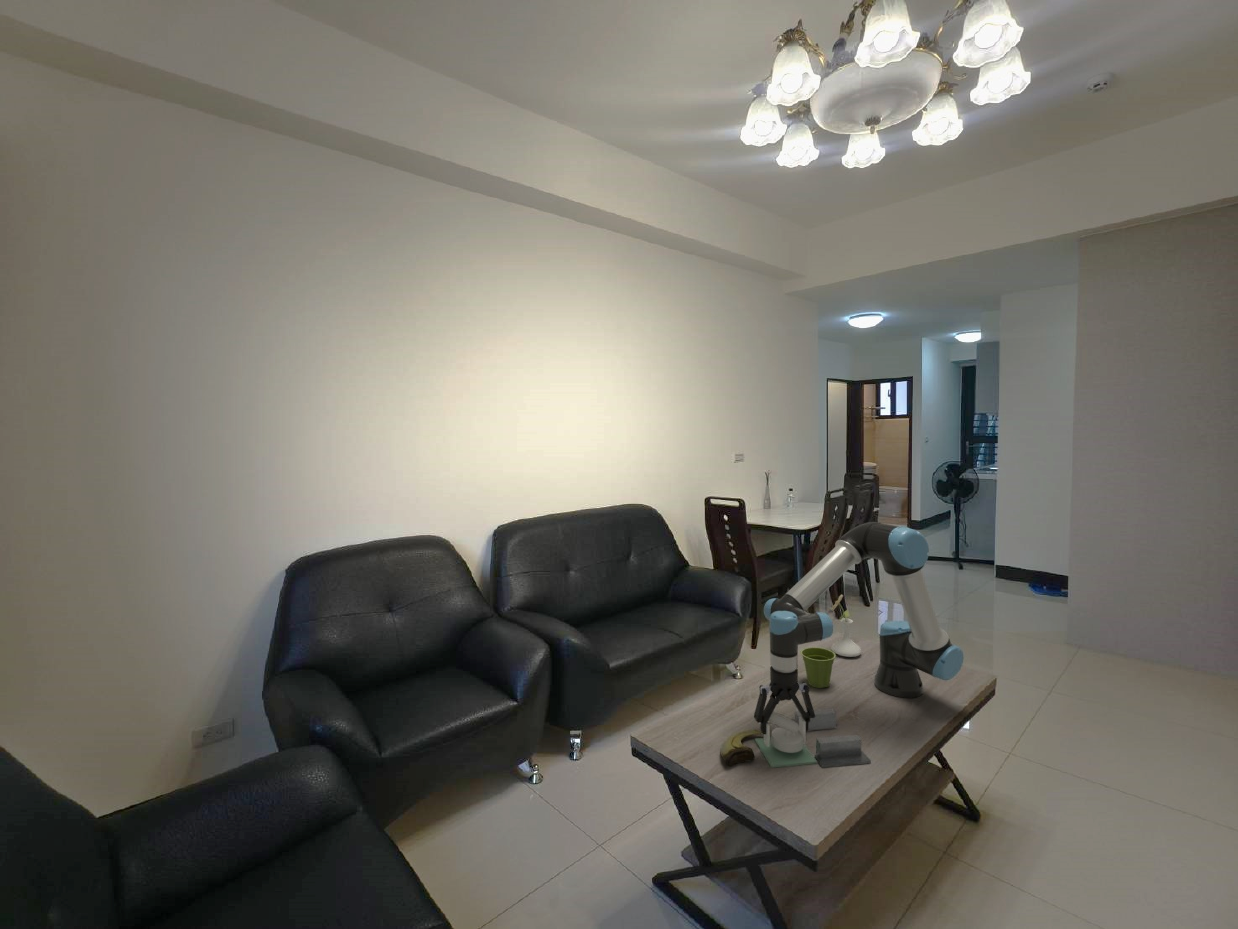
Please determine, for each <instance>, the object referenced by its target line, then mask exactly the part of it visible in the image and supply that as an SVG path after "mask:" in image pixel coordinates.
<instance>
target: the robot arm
mask: <svg viewBox="0 0 1238 929" xmlns="http://www.w3.org/2000/svg"><path fill="white" fill-rule="evenodd" d="M834 546H835V547H833V549H832V550H830V552H828V553H827V554H826V555H825V556H824V557H823V558H822V559H820V561H819V562H818V563H817V564H816V565H815V566H814V567H813V568H811V569H810V570H809V571H808V572H807V573H806V574H805V575H804V576H803V577H802V578H801V579H800V580H799V581H798V582H796V583H795V585H793V586H792V587H791V588H790V589H789V590H788V591H787V592H786V593H785V594H784V595H783V596H782V597H781V598H775V597H774V598H770V599H768V600H767V601H766V602H765V603H764V607H763V615H764V616H765V619H767V620H768V621H769V629H768V630H769V656H770V657H769V661H770V662H769V664H770V666H769V669H770V670H769V672H770V675H769V678H770V683H769V684H768V685H766V686H764V685H763V684H761V685H759V694H758V699H757V703H756V705H755V706H756V707H755V710H754V713H753V719H754V720H755V721H756V723H758V724H760V730H761V732H762V734H761V735H763V738H764V743H765V744H766V746H767V747H770V737H771V736H770V733H771V732H770V731H771V726H770V723H769V721H768V720H769V718H770V716H771V714H772V712H773V711H774V710H775V708H776V707H777V705H779V704H780V702H782V701H791V700H792V702H793V704H794V706H795V707H796V708H797V711H799V712H800V713H801V715H802V717H799V732H800V733H801V734H802V736H803V744H804V745H805V744H806V741H807V740H806V739H807V738H806V736H807V735H806V732H809V731H808V722H810V718H815V713H814V710H815V709H814V707H813V703H812V700H811V697H810V694H809V693H810V686H809V685H808V684H807V683H806V682H805V681H802V682H801V683H799V682H798V681H799V670H798V668H799V658H798V656H799V655H798V654H799V653H798V650H799V645H803V644H804V645H805V644H808V643H814V642H818V641H823V640H825V639H828V638H831V636H832V635H833V633H834V624H833V621H832V618H831V617H830V616H829V615H828V614H827V613H825V612H821V611H820V612H819V611H818V612H816V611H815V612H814V613H813V612H812V613H811V612H808V611H806V610H808V609H809V608H810V607H811V606H812V605H813V604H814V603H815V602H816V601H817V600H818V599H819V598H820V597H821V596H822V595H823V594H824V593H825V592H827V591H828V589H830V587H831V586H833V585H834V584H835V582H837V581H838V580H839V579H840V578H841V577H842V576H843V575H844V574H845V573H846V572H847V571H848V570H849V569H851V567H852V566H853V565H858V564H860V563H862V561H863V560H865V559H869V558H872V559H875V560H877V561H878V560H879V561H880V562H881V564H882V567H883V570H884V572H885V573H886V574H887V575H889V576H891V577H892V580H893V583H894V586H895V589H896V592H897V594H898V598H899V601H900V604H901V606H902V610H903V612H904V616H905V618H906V620H890V621H885V622H883V623H881V625H880V630H879V665H878V668H877V670H876V672H875V675H874V686H875V687H876V688H877V689H878V690H879V691H881V692H883V693H884V694H887V695H890V696H895V697H898V698H907V699H908V698H917V697H920V696H921V695H922V694H923V693H924V685H923V681H922V679H921V675H920V672H923V673H925V674H927V675H929V676H930V677H933V678H936V679H939V680H942V681H950V680H952V679H954V678H955V677H956V676H957V675H959V672H960V671H961V668H962V667H963V664H964V657H965V656H964V652H963V649H962V648H961V647H959V646H958V645H955V644H952V641H951V639H950V635H949V634H948V633H947V631H946V630H945V629H943V628H941V625H940V623H939V620H938V616H937V614H936V613H937V612H936V610H935V607H934V604H933V602H932V597H931V595H930V592H929V589H928V586H927V583H926V580H925V578H924V574H923V571H922V570H923V569H924V567H925V566H926V565H925V564H926V563H927V561H928V558H929V555H928V553H930V548H929V543H928V540H927V539H926V537H925V536H924V535H923V533H921V532H920V531H918V530H916V529H912V528H911V527H907V526H899V525H893V524H888V523H882V522H878V521H869V522H865V523H862V524H859V525H857V526H856V527H854V528H852V529H850V530H848V531H847V532H846V533H845V534H843V535H842V536H841V537H840V538H838V540H836V542H835V544H834ZM919 671H920V672H919ZM799 690H800V692H801V696H802V700H803V702H804V706H805V709H806V710H805V709H804V707H803V705H802V704H801V702H800V700H799V699H798V697H797V695H796V694H797V692H798V691H799ZM770 692H771V694H770ZM769 694H770V695H769ZM768 696H769V700H767V698H768ZM766 702H767V703H766ZM805 711H807V712H805ZM774 712H775V711H774Z"/></svg>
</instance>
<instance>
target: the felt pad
mask: <svg viewBox="0 0 1238 929" xmlns="http://www.w3.org/2000/svg"><path fill="white" fill-rule="evenodd" d="M754 741H755V743H756V745H757V747H758V748H759V750H760V751H761V753H762V755H763V756H764V758H765V760H766V761H767V763H768V764H769V766H770V768H772V769H773V768H783V767H785V768H786V767H795V766H805V765H815V764H818V762H817V760H816V759H815V756H814V755H813V754H812V753H811V752H810V750H809V749H808V748H807V746H806V745H805V744H803V748H802V750H800V751H798V752H794V753H788V752H783V751H780V750H778V749H776V748H775V747H774V746H773V745H772V740H771V736H770V747H767V746H766V744H765V743H764V737H760V738H759V737H758V738H757V737H756V738H754Z"/></svg>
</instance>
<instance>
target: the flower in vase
mask: <svg viewBox="0 0 1238 929" xmlns="http://www.w3.org/2000/svg"><path fill="white" fill-rule="evenodd" d="M843 597H844V595H843V594H840V595H839V596H838V599H837V600H835V603H834V605H832V606H831V609H830V610H831V611H833V612H834V610H835V609H836V608H837V606H840V609H841V610H842V614H841V616H840V617H839V620H838V621H839V622H840V623H841V625H842V626H841V627H842V638H840V639H839V640H837V641H836V642H834V643H833V644H832V645H831V647H830V649H831V651H832V652H834V653H835V655H836V654H837V655H838V656H841V657H847V658H853V657H858V656H860V655H861V654H862V653H863V652H862V649H861V647H860V646H859V645H858V644H857V643H855V642H854V641H853V640H852V638H850V630H851V629H850V628H851V625H852V623H853V622H854V620H852V619H850V616H851V614H850V612H849V610H848V609H846V610H845V611H844V608H843V606H842V605H841V601H842V599H843Z"/></svg>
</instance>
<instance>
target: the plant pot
mask: <svg viewBox="0 0 1238 929" xmlns="http://www.w3.org/2000/svg"><path fill="white" fill-rule="evenodd" d="M800 654H801V656H802V660H803V662H804V667H805V673H806V679H807V683H808V684H809V685H810V686H811V687H814V688H817V689H824V688H828V687H829V686H830V684H831V683H830V682H831V676H832V670H833V664H834V660H835V659H836V656H837V655H836V653H834V652H833V651H832V649H831V650H830V649H828V648H825V647H816V646H814V647H813V646H812V647H811V646H810V647H806V648H803V649H801V651H800Z"/></svg>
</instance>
